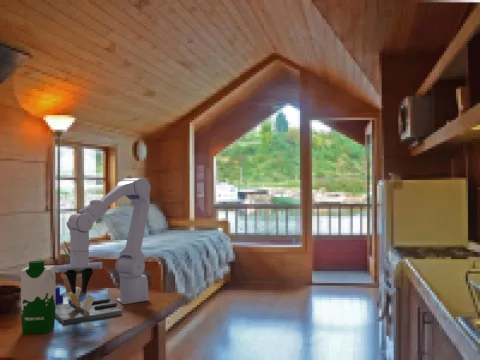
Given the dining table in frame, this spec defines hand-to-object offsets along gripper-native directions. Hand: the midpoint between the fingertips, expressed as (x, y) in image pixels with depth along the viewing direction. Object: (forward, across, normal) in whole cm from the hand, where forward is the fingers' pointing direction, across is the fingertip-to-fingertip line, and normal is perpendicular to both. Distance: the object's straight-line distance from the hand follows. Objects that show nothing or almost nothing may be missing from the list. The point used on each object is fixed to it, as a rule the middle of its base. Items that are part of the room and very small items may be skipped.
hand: (78, 292), depth 151 cm
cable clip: (+7, +6, -22) cm, 24 cm away
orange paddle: (+4, 0, 0) cm, 4 cm away
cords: (+5, -8, 0) cm, 9 cm away
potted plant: (+7, -8, -35) cm, 37 cm away
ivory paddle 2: (+4, 0, +7) cm, 8 cm away
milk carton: (+7, +14, +10) cm, 19 cm away
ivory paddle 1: (+4, 0, -7) cm, 8 cm away
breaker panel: (+7, -2, 0) cm, 7 cm away
